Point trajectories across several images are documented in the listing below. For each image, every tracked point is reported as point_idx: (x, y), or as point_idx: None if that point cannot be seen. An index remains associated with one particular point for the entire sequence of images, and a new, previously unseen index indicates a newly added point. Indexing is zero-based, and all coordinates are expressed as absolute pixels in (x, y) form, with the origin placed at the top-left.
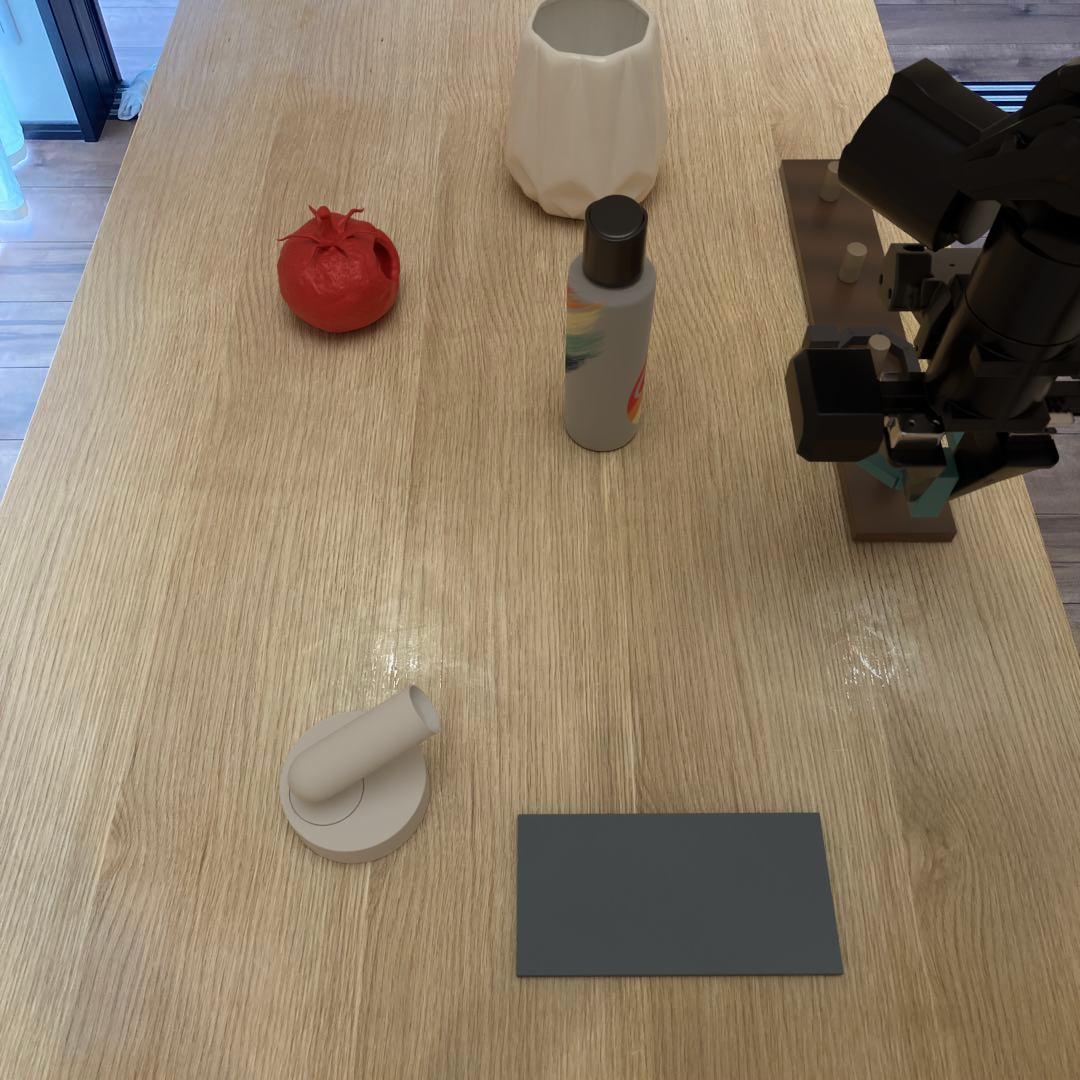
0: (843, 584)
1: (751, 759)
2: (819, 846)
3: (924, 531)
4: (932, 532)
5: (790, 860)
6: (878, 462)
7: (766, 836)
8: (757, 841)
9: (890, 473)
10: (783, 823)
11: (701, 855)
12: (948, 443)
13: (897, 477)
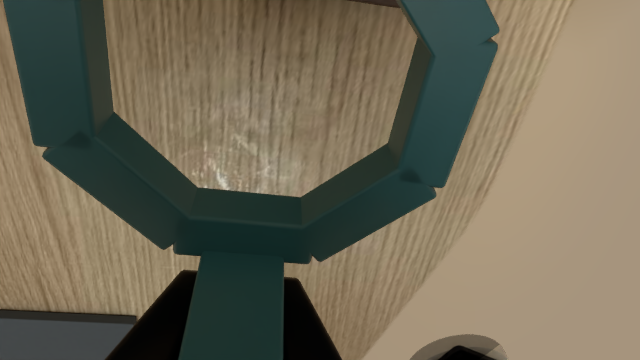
0: (215, 62)
1: (62, 268)
2: None
3: (380, 2)
4: (394, 6)
5: (99, 353)
6: (109, 198)
7: (75, 337)
8: (65, 340)
9: (147, 233)
10: (93, 330)
11: (6, 346)
12: (401, 101)
13: (169, 244)
